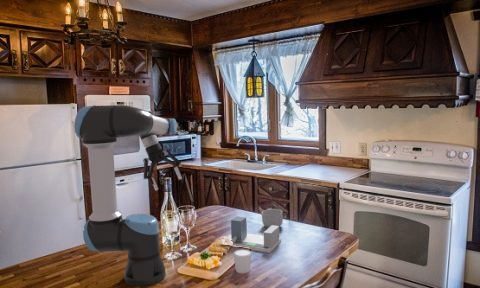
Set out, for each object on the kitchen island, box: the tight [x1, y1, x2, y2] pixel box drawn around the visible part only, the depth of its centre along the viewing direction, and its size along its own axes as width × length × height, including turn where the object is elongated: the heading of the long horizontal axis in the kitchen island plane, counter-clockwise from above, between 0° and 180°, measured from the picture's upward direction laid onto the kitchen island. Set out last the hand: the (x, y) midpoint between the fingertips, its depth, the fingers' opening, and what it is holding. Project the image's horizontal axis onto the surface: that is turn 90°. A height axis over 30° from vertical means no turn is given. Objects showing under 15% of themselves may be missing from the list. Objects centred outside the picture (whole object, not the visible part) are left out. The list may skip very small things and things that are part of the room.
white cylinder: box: [233, 248, 252, 274], centre depth 143 cm, size 7×7×7 cm
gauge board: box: [227, 225, 282, 254], centre depth 169 cm, size 24×14×8 cm, turn 64°
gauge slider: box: [230, 215, 248, 242], centre depth 170 cm, size 5×10×9 cm, turn 154°
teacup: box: [261, 208, 284, 229], centre depth 192 cm, size 14×11×8 cm
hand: (169, 184), depth 183 cm, fingers open, 13 cm apart
